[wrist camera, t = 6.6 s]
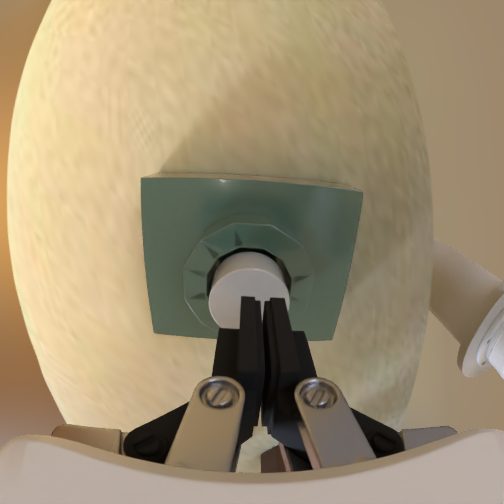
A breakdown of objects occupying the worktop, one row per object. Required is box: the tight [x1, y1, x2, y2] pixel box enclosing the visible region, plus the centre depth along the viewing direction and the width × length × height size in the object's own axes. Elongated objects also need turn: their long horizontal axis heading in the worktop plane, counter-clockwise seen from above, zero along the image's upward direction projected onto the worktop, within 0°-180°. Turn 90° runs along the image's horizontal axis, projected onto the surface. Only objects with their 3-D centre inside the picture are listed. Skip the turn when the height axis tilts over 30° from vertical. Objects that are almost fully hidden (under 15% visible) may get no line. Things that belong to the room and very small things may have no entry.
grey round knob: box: [209, 252, 290, 329], centre depth 13 cm, size 4×4×2 cm
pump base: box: [141, 173, 363, 341], centre depth 16 cm, size 12×10×5 cm
